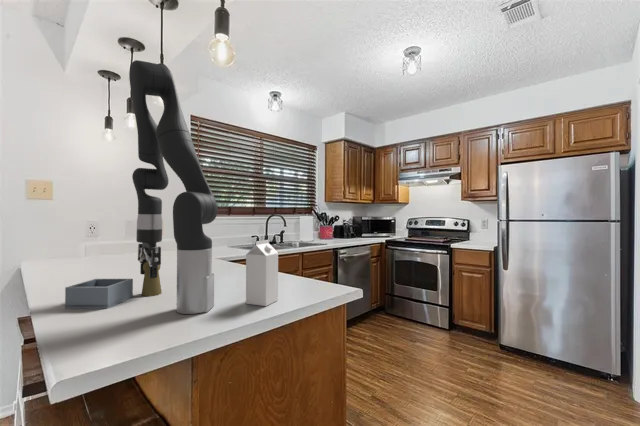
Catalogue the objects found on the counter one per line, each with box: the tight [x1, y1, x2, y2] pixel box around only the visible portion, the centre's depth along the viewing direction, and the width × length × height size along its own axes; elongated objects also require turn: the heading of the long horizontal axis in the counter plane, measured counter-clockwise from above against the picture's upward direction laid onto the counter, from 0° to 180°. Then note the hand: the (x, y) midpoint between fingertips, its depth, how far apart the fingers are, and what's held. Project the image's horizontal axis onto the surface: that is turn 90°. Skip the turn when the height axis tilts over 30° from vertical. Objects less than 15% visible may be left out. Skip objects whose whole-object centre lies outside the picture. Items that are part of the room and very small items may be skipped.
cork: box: [140, 261, 162, 297], centre depth 104 cm, size 6×6×11 cm
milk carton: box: [245, 239, 279, 307], centre depth 94 cm, size 7×7×19 cm
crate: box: [64, 278, 134, 310], centre depth 94 cm, size 12×12×6 cm
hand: (148, 275), depth 103 cm, fingers open, 8 cm apart
